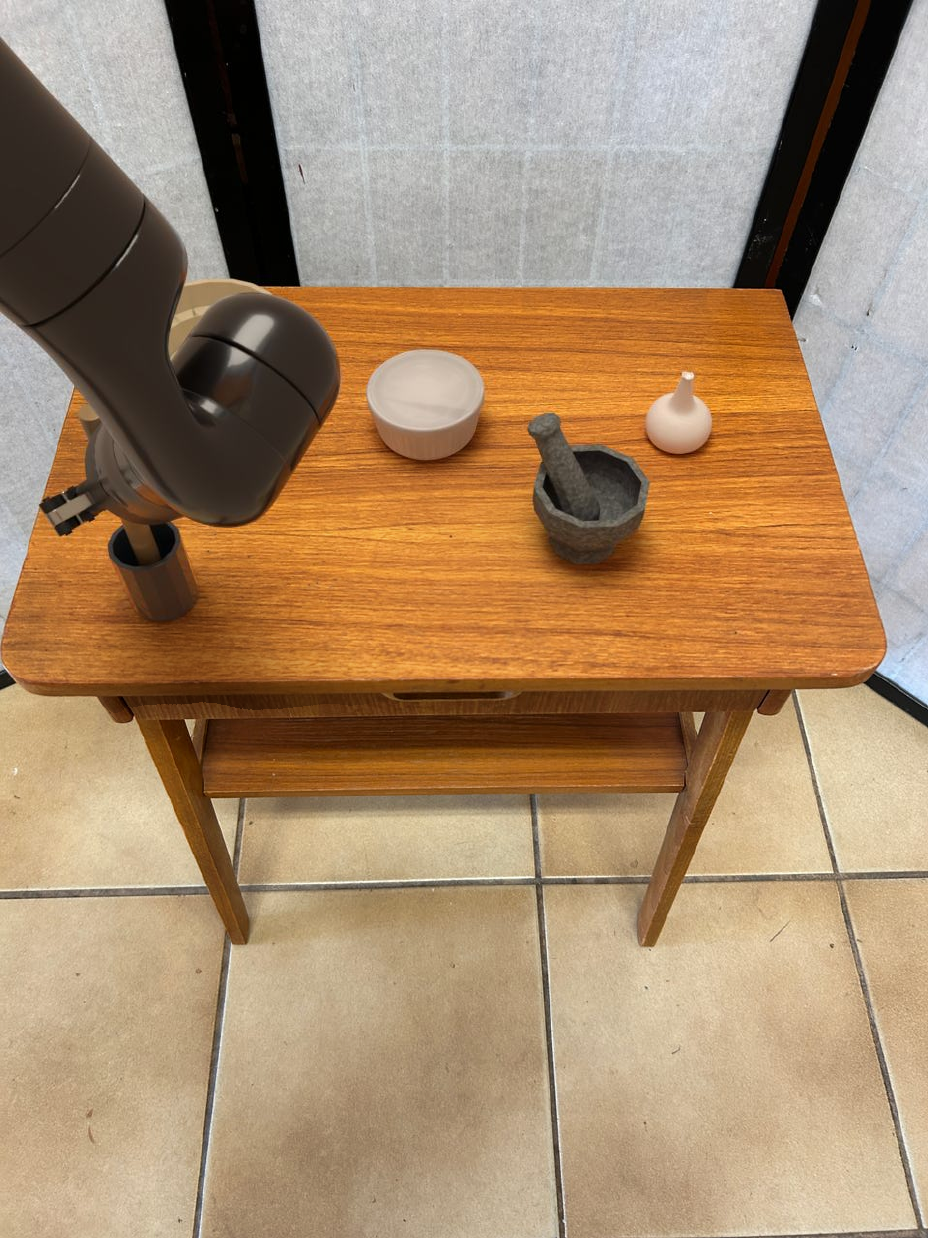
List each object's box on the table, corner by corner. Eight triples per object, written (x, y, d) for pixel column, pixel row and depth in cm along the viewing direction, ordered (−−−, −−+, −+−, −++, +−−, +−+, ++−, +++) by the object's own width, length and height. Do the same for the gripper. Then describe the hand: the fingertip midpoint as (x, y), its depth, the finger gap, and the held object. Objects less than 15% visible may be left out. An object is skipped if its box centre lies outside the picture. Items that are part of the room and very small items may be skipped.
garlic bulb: (716, 427, 94) (736, 362, 87) (694, 467, 91) (713, 402, 84) (656, 406, 96) (671, 340, 89) (633, 444, 92) (646, 379, 86)
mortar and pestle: (655, 527, 86) (681, 428, 76) (608, 596, 81) (629, 501, 72) (546, 478, 90) (558, 378, 80) (495, 542, 85) (501, 444, 75)
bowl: (154, 439, 92) (137, 390, 87) (136, 342, 100) (120, 293, 96) (308, 407, 95) (300, 359, 90) (278, 315, 103) (270, 267, 98)
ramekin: (388, 482, 89) (385, 440, 85) (355, 404, 95) (351, 362, 91) (500, 454, 91) (502, 412, 87) (461, 380, 97) (461, 338, 93)
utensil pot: (136, 629, 79) (111, 577, 73) (128, 577, 82) (104, 524, 76) (203, 613, 80) (184, 561, 74) (193, 563, 83) (174, 508, 77)
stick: (143, 579, 77) (78, 422, 64) (140, 562, 78) (76, 404, 65) (165, 574, 78) (105, 417, 64) (162, 558, 79) (103, 399, 65)
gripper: (223, 351, 59) (163, 402, 74) (18, 456, 54) (-2, 488, 69) (285, 459, 61) (214, 487, 76) (95, 570, 56) (59, 577, 71)
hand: (112, 487), depth 72 cm, fingers closed on stick, 2 cm apart
